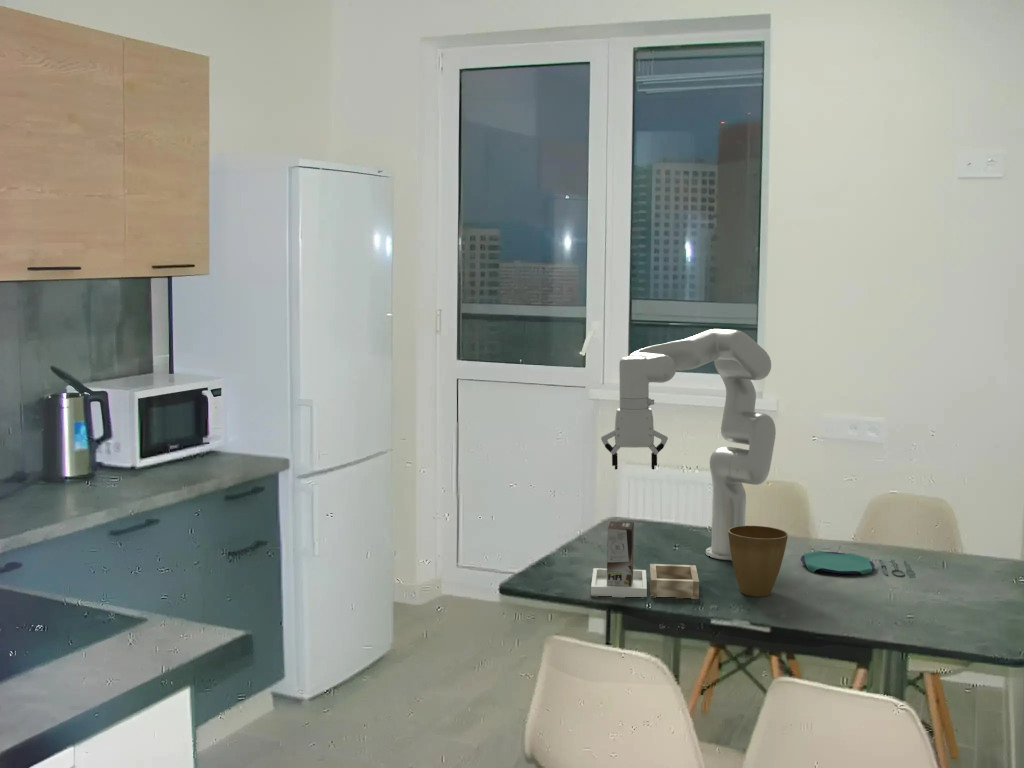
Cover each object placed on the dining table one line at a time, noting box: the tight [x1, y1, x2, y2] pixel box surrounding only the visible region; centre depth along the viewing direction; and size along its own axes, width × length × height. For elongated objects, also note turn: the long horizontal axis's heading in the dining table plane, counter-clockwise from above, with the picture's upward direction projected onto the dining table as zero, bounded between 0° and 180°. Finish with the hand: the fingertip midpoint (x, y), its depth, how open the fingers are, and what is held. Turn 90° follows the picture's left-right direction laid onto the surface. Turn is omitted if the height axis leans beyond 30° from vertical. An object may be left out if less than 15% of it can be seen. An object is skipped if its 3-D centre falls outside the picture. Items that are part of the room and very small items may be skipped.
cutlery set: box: [800, 550, 916, 579], centre depth 298 cm, size 20×30×2 cm, turn 77°
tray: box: [590, 567, 648, 598], centre depth 278 cm, size 14×17×2 cm
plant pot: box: [728, 525, 789, 598], centre depth 274 cm, size 15×15×16 cm
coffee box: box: [606, 520, 635, 587], centre depth 278 cm, size 9×6×16 cm
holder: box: [649, 563, 700, 600], centre depth 277 cm, size 12×15×4 cm
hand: (634, 468), depth 281 cm, fingers open, 9 cm apart
